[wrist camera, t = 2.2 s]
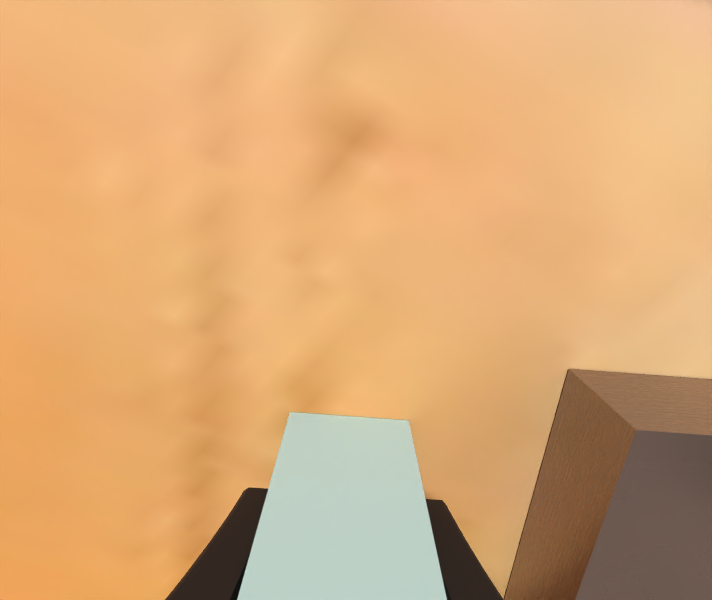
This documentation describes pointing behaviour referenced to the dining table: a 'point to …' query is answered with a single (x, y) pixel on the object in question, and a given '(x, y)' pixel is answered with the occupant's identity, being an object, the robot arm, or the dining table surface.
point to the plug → (344, 516)
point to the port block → (622, 493)
